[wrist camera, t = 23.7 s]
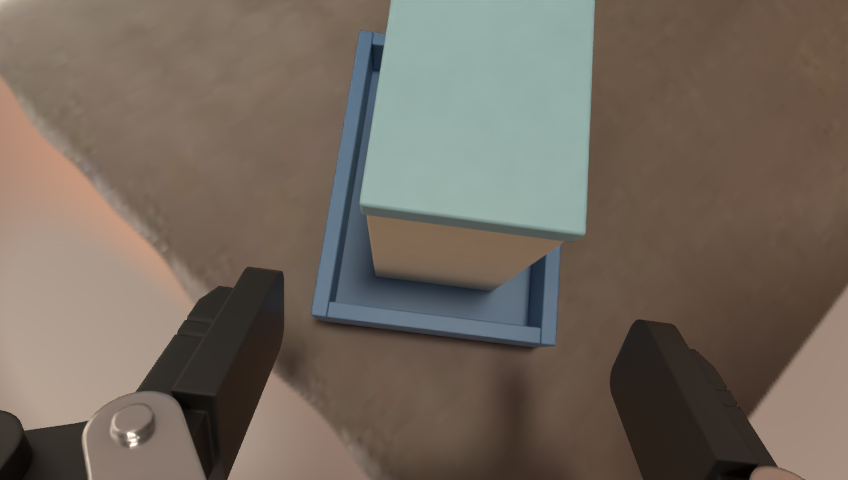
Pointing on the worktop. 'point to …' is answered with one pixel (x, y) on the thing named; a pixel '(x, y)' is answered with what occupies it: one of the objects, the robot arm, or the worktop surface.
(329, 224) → the tray
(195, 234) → the worktop surface
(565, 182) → the container
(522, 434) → the worktop surface
